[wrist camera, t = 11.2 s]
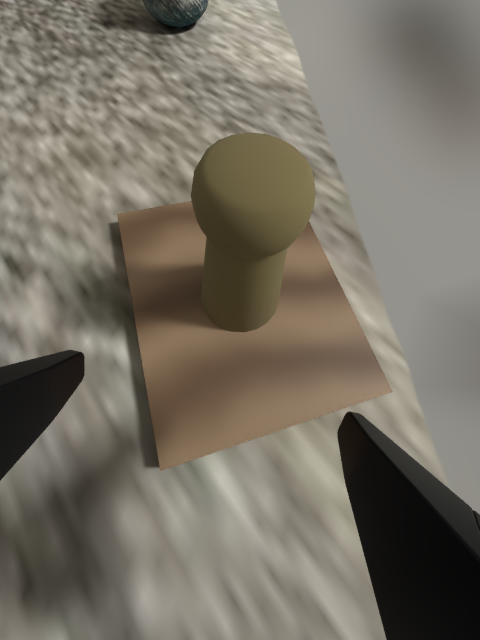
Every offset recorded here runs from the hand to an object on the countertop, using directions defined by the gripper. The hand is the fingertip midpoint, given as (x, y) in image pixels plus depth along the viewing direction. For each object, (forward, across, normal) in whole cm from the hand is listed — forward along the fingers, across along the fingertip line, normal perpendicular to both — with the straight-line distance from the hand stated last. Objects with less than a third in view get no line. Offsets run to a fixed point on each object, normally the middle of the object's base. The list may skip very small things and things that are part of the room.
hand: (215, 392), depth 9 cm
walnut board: (+13, 0, +1) cm, 13 cm away
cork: (+12, 0, 0) cm, 12 cm away
